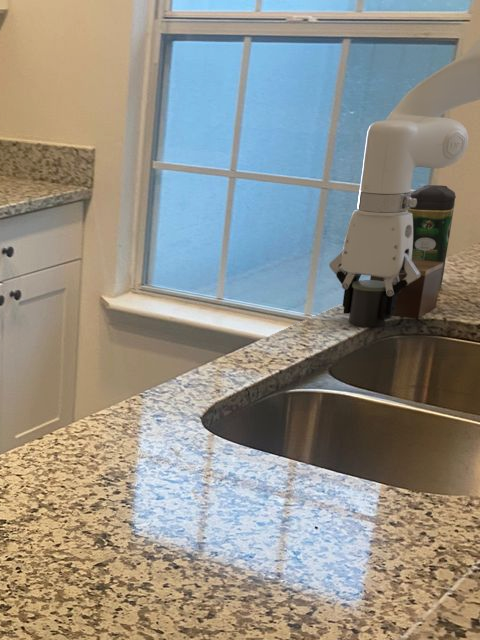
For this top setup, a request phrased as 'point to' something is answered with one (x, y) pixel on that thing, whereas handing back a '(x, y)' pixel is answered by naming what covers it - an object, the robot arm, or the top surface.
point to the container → (367, 303)
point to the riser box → (419, 290)
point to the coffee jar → (432, 223)
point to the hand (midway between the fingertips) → (367, 314)
